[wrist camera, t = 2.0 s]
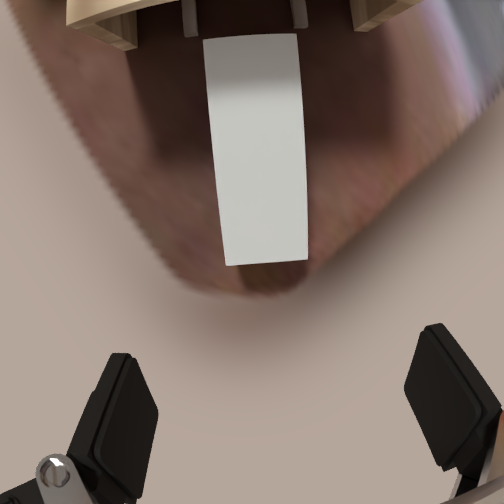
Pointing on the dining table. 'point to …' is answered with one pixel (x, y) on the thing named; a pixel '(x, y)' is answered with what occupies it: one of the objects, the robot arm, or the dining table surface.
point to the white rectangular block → (258, 146)
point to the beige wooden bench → (125, 22)
